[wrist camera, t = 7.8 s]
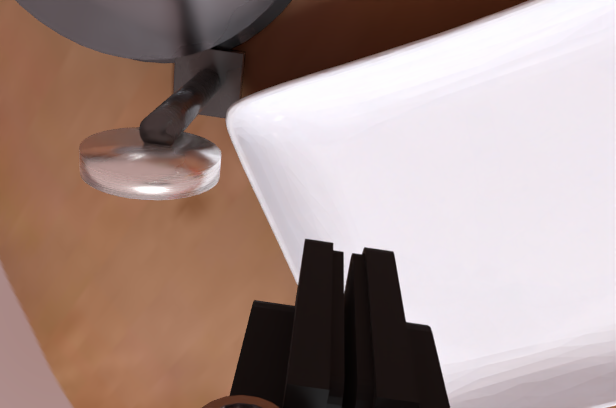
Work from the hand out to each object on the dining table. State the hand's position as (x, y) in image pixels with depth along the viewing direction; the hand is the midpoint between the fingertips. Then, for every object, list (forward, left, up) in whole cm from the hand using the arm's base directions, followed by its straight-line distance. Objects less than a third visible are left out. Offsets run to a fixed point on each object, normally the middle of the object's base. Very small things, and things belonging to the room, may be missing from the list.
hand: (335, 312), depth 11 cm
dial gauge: (0, -6, -17) cm, 18 cm away
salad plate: (+5, +9, -18) cm, 20 cm away
